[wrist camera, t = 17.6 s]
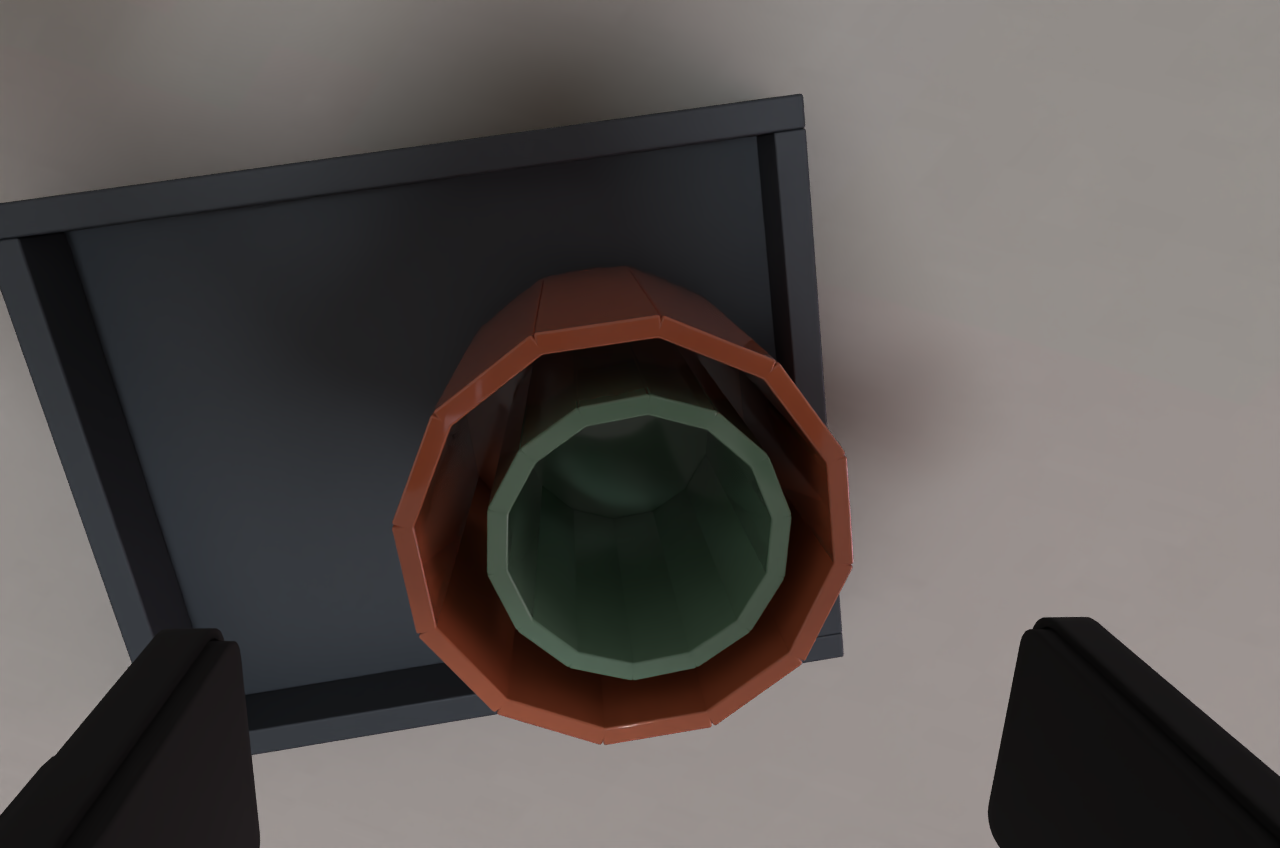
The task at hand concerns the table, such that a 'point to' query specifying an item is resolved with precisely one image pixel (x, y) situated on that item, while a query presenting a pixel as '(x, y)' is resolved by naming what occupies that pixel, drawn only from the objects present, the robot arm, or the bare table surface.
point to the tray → (357, 366)
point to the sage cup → (632, 512)
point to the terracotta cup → (463, 479)
